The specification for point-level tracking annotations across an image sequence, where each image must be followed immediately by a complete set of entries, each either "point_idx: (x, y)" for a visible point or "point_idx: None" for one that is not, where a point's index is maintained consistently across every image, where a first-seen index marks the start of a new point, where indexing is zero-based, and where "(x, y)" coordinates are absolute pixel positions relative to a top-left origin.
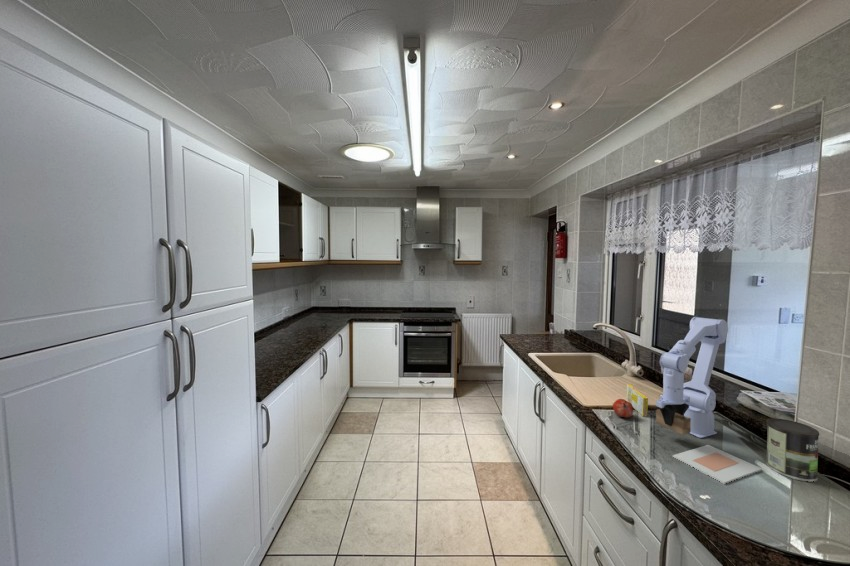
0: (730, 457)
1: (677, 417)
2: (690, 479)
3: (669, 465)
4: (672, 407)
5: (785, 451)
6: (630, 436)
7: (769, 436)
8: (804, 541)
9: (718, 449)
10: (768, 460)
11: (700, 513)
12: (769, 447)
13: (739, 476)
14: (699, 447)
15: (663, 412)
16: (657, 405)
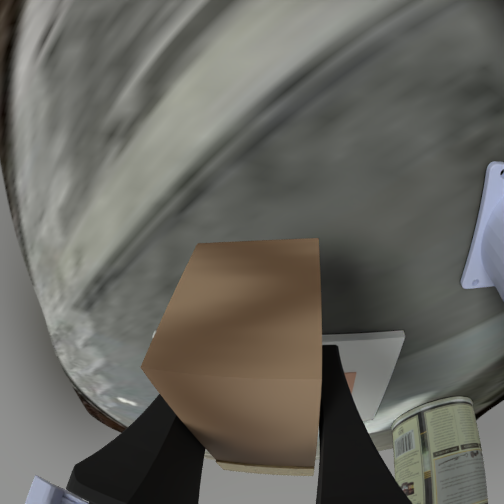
0: (363, 391)
1: (229, 459)
2: (133, 382)
3: (114, 344)
4: (322, 474)
5: None
6: (67, 155)
7: (419, 494)
8: None
9: (393, 363)
10: (415, 424)
11: (95, 402)
12: (415, 464)
13: None
14: (335, 342)
15: (149, 433)
16: (40, 486)
